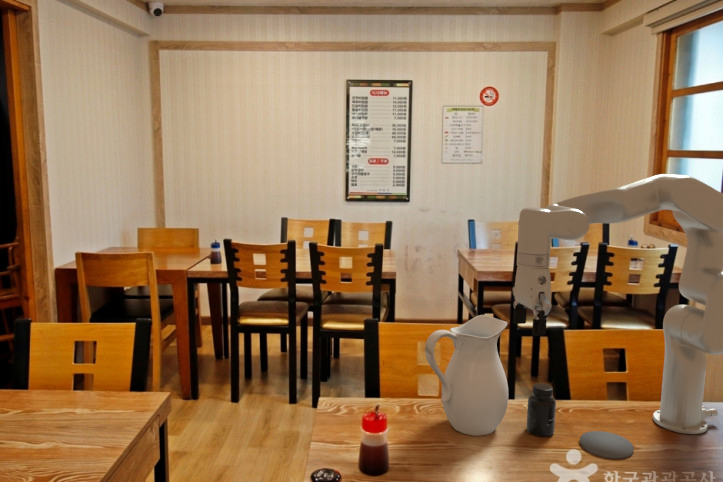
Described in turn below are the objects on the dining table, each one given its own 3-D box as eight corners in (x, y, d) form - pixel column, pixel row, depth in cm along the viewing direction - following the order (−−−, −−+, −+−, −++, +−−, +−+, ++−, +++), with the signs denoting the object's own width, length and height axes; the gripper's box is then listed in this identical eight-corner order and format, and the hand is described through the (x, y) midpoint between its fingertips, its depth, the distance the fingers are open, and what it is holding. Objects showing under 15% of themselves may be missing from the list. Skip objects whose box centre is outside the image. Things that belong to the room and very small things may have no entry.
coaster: (613, 432, 148) (613, 429, 148) (644, 456, 136) (644, 452, 136) (570, 436, 146) (570, 433, 146) (598, 461, 134) (598, 458, 134)
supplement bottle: (555, 439, 145) (558, 393, 143) (527, 436, 146) (529, 390, 144) (552, 426, 151) (555, 382, 149) (525, 423, 153) (527, 380, 151)
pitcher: (479, 407, 163) (482, 310, 158) (521, 432, 148) (526, 327, 143) (406, 424, 152) (407, 321, 148) (442, 454, 137) (445, 341, 133)
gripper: (567, 266, 131) (561, 339, 134) (530, 253, 148) (526, 318, 150) (536, 267, 129) (531, 341, 132) (502, 253, 146) (499, 319, 149)
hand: (528, 329), depth 141 cm, fingers open, 9 cm apart
